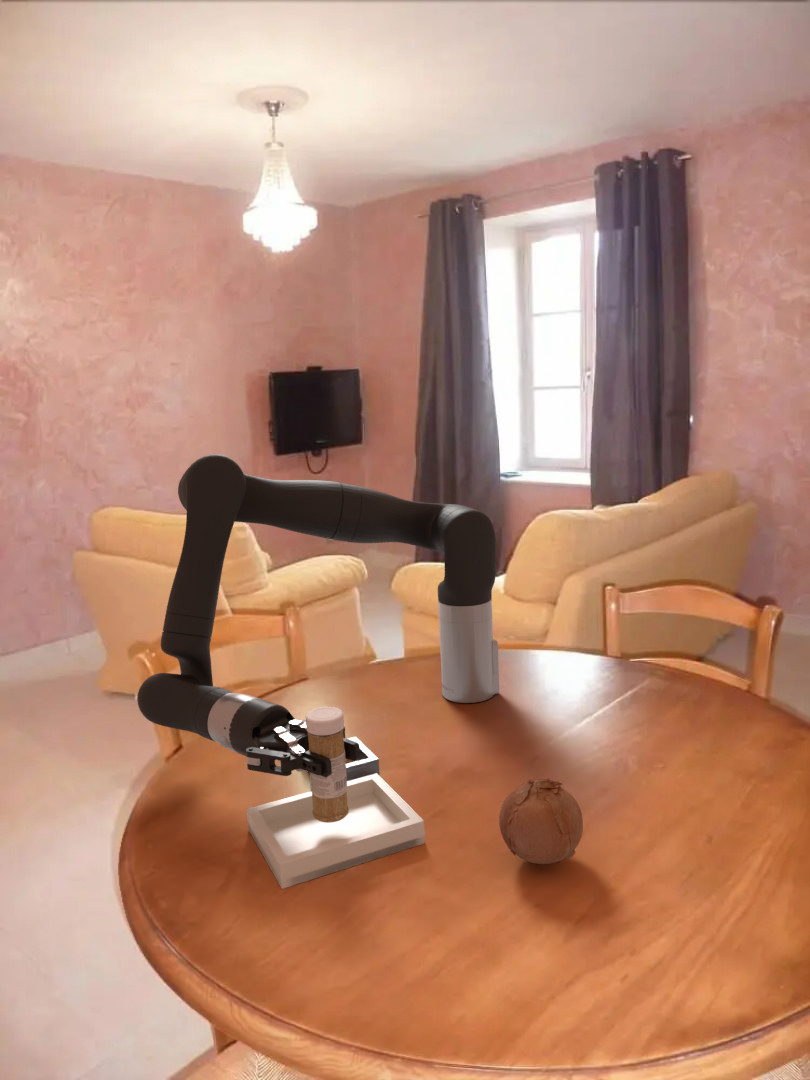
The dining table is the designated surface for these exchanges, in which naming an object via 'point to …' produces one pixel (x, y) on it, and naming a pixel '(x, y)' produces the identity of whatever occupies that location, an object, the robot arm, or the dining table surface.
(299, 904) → the dining table surface
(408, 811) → the plastic tray
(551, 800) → the onion
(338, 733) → the sprinkles bottle
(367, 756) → the metal collar
